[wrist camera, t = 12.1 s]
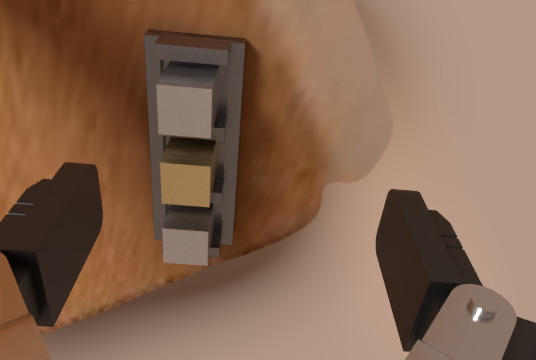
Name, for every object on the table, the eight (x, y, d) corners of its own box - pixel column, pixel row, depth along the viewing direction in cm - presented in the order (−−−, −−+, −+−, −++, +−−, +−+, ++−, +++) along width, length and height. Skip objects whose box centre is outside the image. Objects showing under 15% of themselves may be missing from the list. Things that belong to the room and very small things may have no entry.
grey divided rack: (157, 230, 49) (142, 276, 44) (148, 29, 38) (126, 55, 32) (233, 236, 50) (228, 282, 44) (246, 38, 38) (241, 66, 33)
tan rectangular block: (173, 128, 42) (160, 162, 37) (217, 132, 42) (210, 166, 37) (174, 166, 44) (161, 203, 39) (216, 170, 44) (209, 207, 39)
